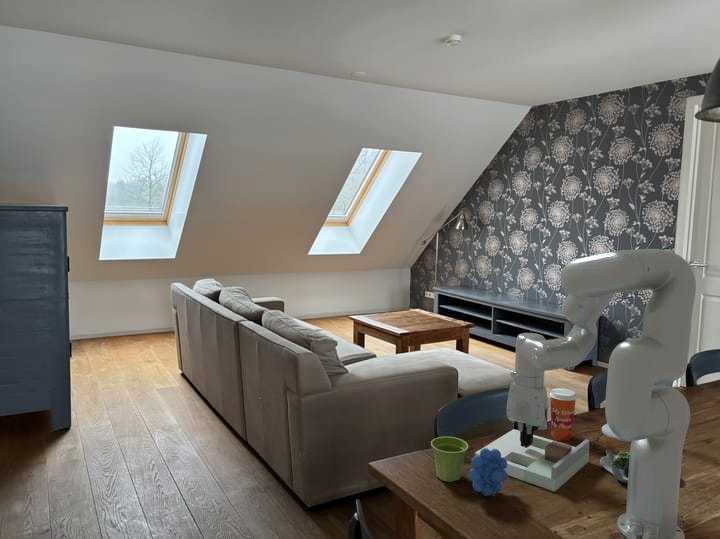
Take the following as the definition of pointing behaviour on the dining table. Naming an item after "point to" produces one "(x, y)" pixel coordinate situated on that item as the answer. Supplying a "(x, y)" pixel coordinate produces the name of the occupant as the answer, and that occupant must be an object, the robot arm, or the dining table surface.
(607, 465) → the salad plate
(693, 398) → the dining table surface
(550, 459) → the block
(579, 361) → the robot arm
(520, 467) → the white compartment tray
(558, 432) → the paper cup
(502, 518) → the dining table surface
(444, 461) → the plant pot
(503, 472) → the grapes
